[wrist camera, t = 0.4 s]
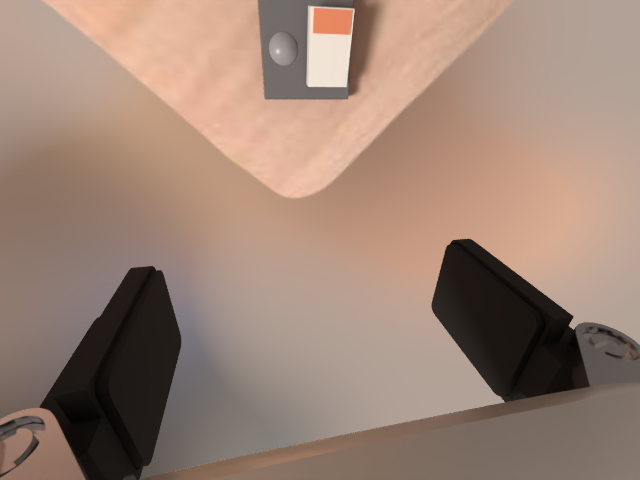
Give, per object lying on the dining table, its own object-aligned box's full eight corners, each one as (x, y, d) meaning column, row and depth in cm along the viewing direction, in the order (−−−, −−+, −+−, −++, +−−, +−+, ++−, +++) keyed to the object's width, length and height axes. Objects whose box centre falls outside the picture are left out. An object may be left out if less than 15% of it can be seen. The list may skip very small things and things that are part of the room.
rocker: (308, 5, 27) (310, 6, 26) (350, 7, 28) (355, 9, 27) (306, 83, 31) (308, 87, 30) (343, 84, 32) (347, 87, 31)
